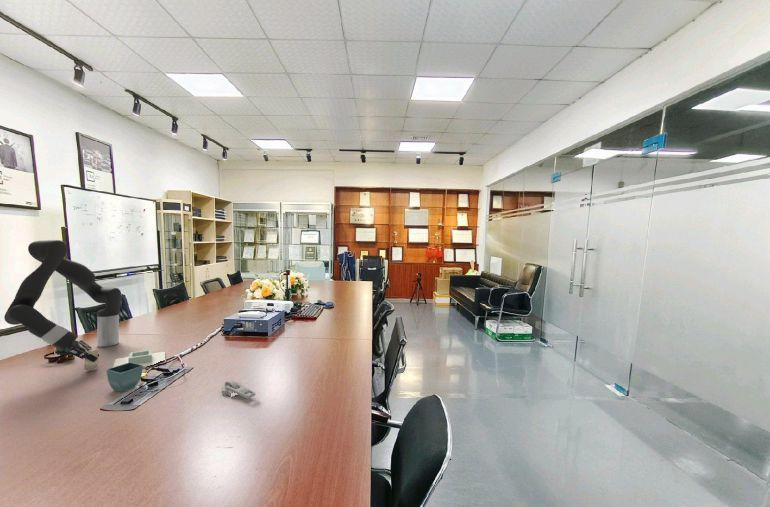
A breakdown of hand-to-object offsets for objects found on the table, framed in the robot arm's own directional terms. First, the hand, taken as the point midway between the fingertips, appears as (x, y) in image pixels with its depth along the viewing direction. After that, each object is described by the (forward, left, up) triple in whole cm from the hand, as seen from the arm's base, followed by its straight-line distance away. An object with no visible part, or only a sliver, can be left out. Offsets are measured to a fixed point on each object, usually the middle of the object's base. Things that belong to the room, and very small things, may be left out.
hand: (96, 358), depth 141 cm
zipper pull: (+61, +49, -6) cm, 79 cm away
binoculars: (-23, -16, -6) cm, 28 cm away
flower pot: (+30, +12, -6) cm, 33 cm away
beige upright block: (0, -2, -4) cm, 5 cm away
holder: (0, +16, -5) cm, 17 cm away
